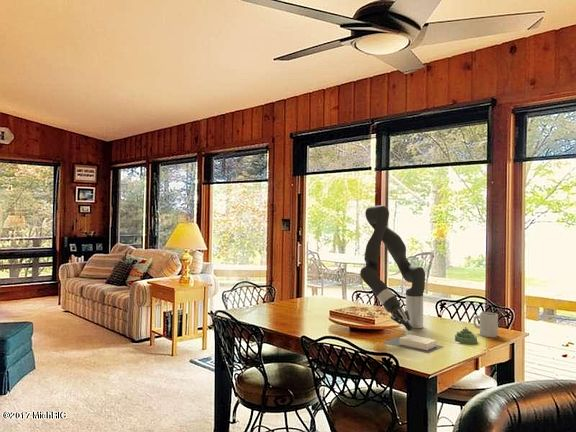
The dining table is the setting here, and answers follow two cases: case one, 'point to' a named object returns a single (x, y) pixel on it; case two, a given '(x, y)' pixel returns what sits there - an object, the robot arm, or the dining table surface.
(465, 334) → the decorative artifact
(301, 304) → the dining table surface
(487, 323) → the mug
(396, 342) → the mat
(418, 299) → the robot arm
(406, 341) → the orange white box
